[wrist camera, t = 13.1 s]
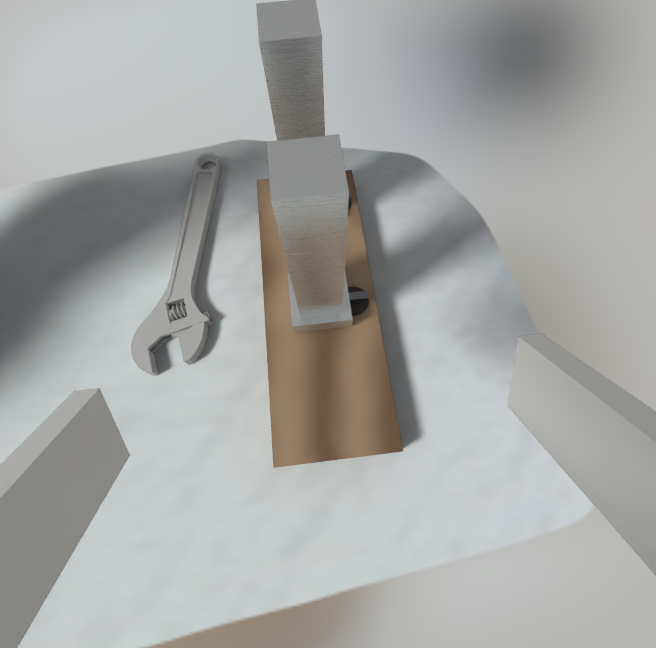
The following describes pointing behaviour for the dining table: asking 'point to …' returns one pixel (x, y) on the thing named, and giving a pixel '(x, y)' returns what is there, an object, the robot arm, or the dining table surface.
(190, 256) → the adjustable wrench
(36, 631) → the dining table surface
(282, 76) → the fixed leg
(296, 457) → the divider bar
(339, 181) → the block
